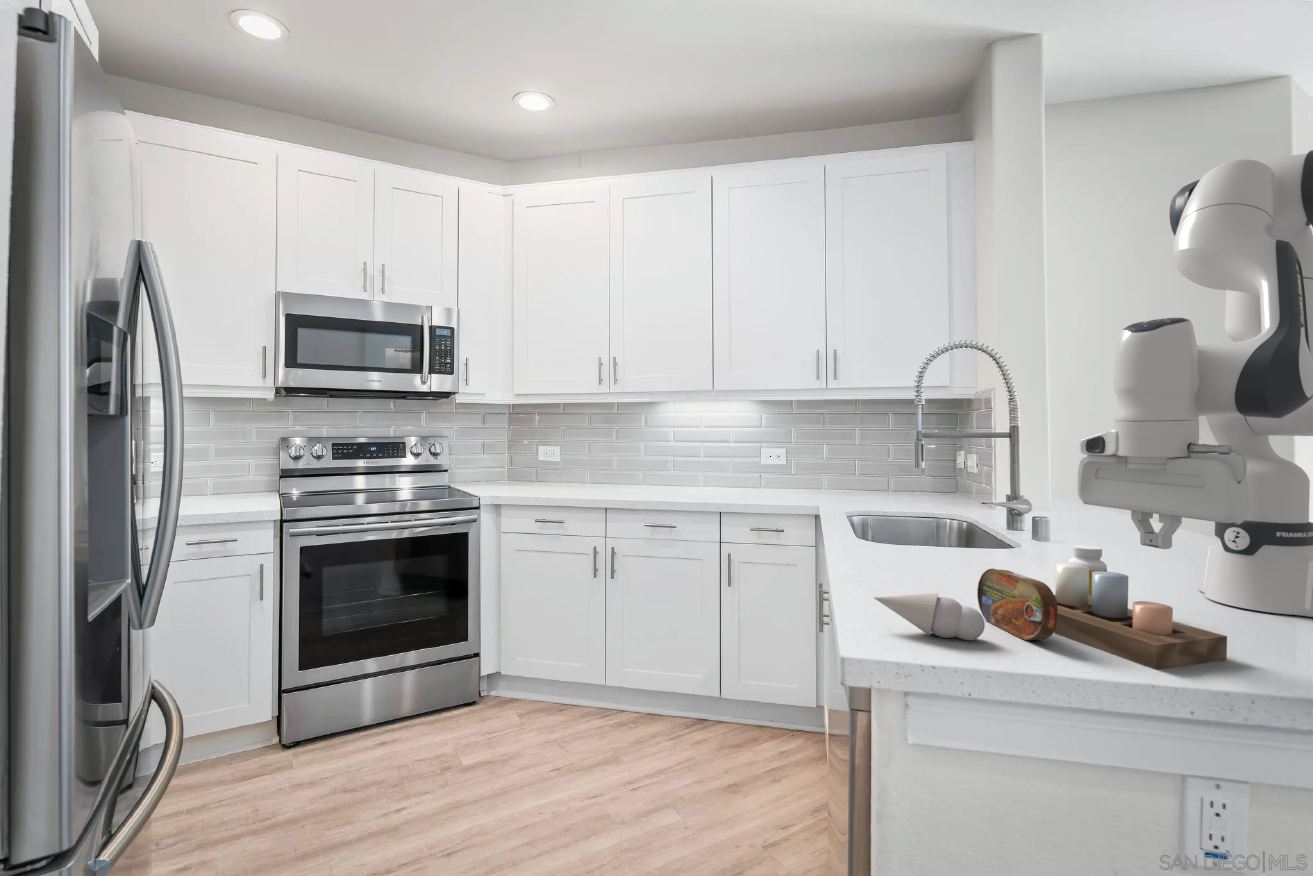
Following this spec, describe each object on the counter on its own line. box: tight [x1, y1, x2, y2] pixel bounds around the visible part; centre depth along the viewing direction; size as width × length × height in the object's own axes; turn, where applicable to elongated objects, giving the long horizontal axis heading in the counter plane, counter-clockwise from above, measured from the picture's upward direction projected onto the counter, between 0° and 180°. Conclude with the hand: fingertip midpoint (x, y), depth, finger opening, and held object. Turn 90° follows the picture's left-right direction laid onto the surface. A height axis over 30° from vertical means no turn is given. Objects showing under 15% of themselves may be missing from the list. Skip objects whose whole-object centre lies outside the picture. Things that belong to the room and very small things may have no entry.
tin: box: [976, 568, 1058, 641], centre depth 95 cm, size 15×3×8 cm, turn 5°
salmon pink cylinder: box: [1132, 600, 1174, 636], centre depth 86 cm, size 4×4×6 cm
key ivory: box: [1054, 562, 1089, 606], centre depth 98 cm, size 4×4×6 cm
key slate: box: [1092, 571, 1129, 618], centre depth 92 cm, size 4×4×6 cm
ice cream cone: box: [873, 592, 986, 641], centre depth 93 cm, size 6×6×15 cm
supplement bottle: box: [1067, 544, 1108, 598], centre depth 107 cm, size 5×5×10 cm
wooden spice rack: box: [1053, 594, 1228, 670], centre depth 92 cm, size 12×22×3 cm, turn 16°
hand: (1156, 547), depth 86 cm, fingers closed
